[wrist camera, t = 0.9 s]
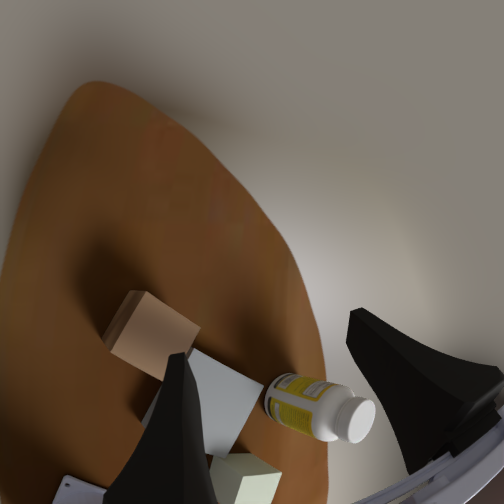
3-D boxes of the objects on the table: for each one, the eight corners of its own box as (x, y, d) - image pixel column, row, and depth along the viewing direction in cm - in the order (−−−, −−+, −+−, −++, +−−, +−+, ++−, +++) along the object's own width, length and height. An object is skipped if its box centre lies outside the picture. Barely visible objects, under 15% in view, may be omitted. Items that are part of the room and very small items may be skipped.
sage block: (240, 485, 25) (269, 507, 21) (204, 488, 23) (231, 513, 19) (250, 452, 26) (281, 472, 22) (214, 453, 24) (243, 476, 20)
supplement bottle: (288, 425, 29) (363, 454, 21) (253, 412, 27) (331, 447, 19) (309, 381, 32) (386, 399, 23) (277, 363, 29) (360, 383, 21)
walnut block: (148, 367, 22) (169, 384, 18) (100, 338, 20) (110, 352, 16) (174, 320, 24) (200, 327, 20) (129, 290, 22) (146, 291, 18)
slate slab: (212, 447, 24) (225, 458, 22) (139, 420, 21) (148, 432, 19) (248, 379, 28) (264, 385, 26) (182, 343, 24) (194, 348, 22)
